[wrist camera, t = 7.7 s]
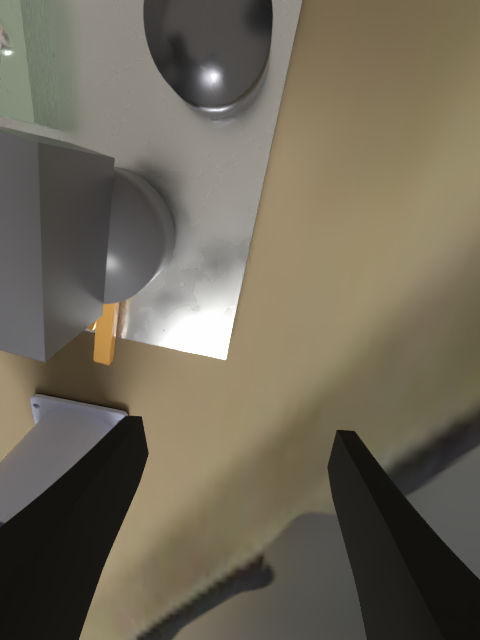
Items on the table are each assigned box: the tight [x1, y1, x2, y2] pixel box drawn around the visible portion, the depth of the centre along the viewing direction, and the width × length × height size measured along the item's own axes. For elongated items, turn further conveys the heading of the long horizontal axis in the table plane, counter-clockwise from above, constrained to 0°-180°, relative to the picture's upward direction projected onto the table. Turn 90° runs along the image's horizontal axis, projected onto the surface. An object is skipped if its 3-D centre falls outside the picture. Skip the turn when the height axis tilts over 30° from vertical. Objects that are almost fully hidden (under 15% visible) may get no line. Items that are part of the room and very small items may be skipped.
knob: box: [0, 126, 175, 365], centre depth 12 cm, size 6×12×7 cm, turn 163°
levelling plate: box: [0, 0, 302, 359], centre depth 13 cm, size 18×20×4 cm
